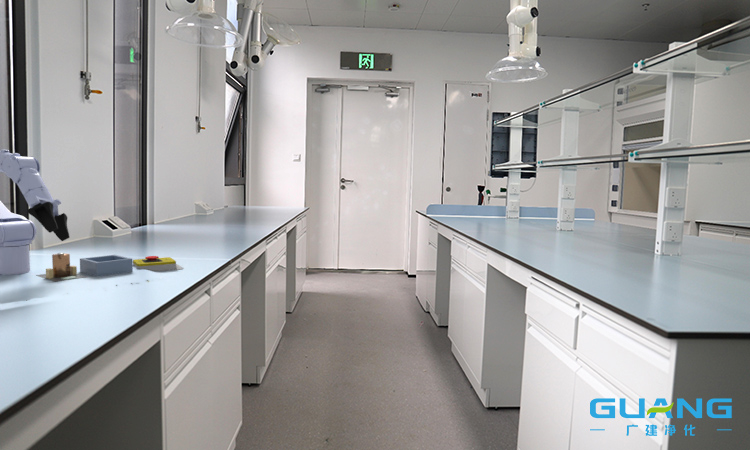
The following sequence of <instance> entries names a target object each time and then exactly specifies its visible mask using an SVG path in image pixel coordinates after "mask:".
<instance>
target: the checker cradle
mask: <svg viewBox="0 0 750 450" xmlns="http://www.w3.org/2000/svg"><path fill="white" fill-rule="evenodd" d="M77 268H78V267H77V266H76V265H70V276H69V277H62V278H55V277H53V268H50V267H48V268H45V273H42V274H36V275H35V276H37V277H39V278H42V279H46V280H48V281H51V282H55V283H57V282H65V281H70V280H71V281H72V280H76V279H77V280H79V279H85V278H87V276H85V275H82V274H78V272H77V271H78V269H77Z"/></svg>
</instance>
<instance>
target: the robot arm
mask: <svg viewBox="0 0 750 450" xmlns="http://www.w3.org/2000/svg"><path fill="white" fill-rule="evenodd" d="M0 172H1V173H2V174H3V173H4V174H5V176H6V177H7V178H10V179H11V180H12V182H13V183H15V184H16V185H17V186H18V188H19V191H20V192H21V194H22V195H23V197H24V199H25V201H26V204H27V205H28V207H29V208H28V209H27V210H26V212H27V214H28V215H31V216H32V217H33V218H35V220H37V221H38V222H39V223H40V225H41V226H42V227H43V228H44V229H45V231H47V232H48V233H50V234H51V233H52V232H53V233H54V234H55V236H56V237H57V239H59V240H60V241H61V242H63V241H66V240H68V239H70V233H69V229H68V216H67V214H66V213H64V212H63V213H61V214H60V213H59V205H61V204H62V201H61V200H60V199H58V198H57V199H54V198H53V196H52V194H51V192H50V190H49V188H48V187H47V185H46V183H45V182H44V179H43V178H42V176H41V174H40V172H41V165H40V162H39V160H38V159H37V158H36V157H34V156H21V154H20V153H18V152H13V153H11V152H10V150H9V149H0ZM36 236H37V226H36V225H35V223H34V222H33V221H32V220H30V219H27V218H26V217H25V216H24V215H20V214H17V213H13V212H11V211H10V210H9V208H8V207H6V205H5V204H4V203H3V202H2V200H0V275H8V276H9V275H20V274H25V273H30V271H31V263H30V261H31V260H30V257H31V256H30V245H31V244H32V241H34V240H35V238H36Z"/></svg>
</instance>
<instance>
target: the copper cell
mask: <svg viewBox="0 0 750 450" xmlns="http://www.w3.org/2000/svg"><path fill="white" fill-rule="evenodd" d="M70 258H71V255H70V253H65V252H58V253H54V254H51V259H52V261H51V263H52V269H53V277H55V278H62V277H69V276H70V266H71V259H70Z"/></svg>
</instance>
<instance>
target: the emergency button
mask: <svg viewBox="0 0 750 450" xmlns="http://www.w3.org/2000/svg"><path fill="white" fill-rule="evenodd" d="M132 265H133V268H136V269H137V270H146V271H148V272H149V271H150V272H152V273H153V272H154V273H155V272H168V271H176V270H184V267H182V266H181V265H179V264H178V263H177V261H176V260H175V259H174V258H172V257H170V256H169V257H167V256H166V257H165V256H164V257H159V256H158V255H150V256H149V255H148V256H145V257H144V258H138V259H132Z"/></svg>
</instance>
